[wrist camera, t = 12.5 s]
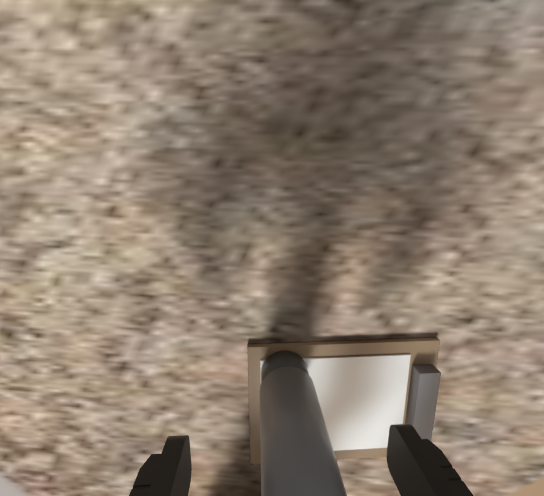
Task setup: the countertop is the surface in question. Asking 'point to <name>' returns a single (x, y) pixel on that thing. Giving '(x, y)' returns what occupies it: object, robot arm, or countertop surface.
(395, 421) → the clipboard
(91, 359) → the countertop surface
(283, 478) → the marker
